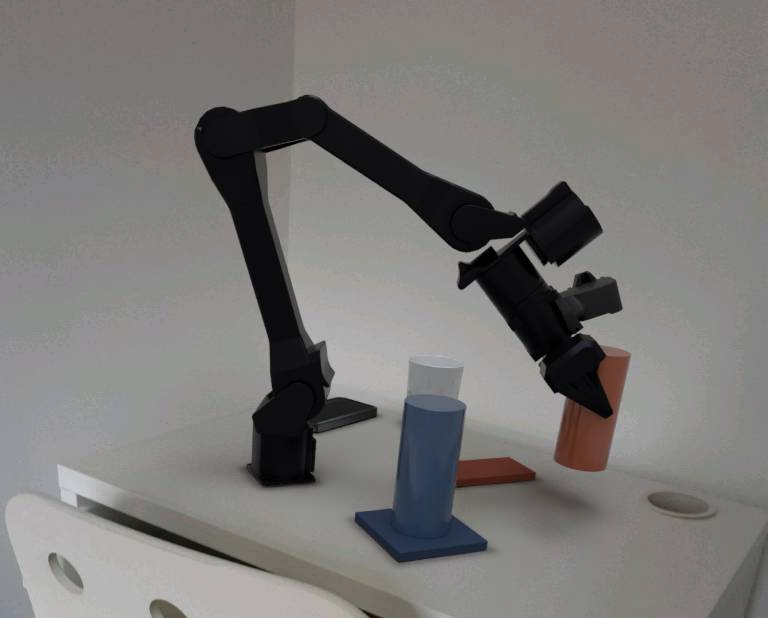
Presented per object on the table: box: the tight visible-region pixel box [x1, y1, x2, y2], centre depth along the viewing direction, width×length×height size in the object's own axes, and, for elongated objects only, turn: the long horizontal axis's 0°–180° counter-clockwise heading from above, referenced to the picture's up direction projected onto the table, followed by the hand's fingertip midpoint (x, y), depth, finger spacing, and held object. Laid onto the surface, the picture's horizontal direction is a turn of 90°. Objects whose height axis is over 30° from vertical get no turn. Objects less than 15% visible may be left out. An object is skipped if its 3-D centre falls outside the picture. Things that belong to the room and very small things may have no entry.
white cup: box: [406, 354, 465, 400], centre depth 117 cm, size 8×8×10 cm
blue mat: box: [354, 507, 489, 563], centre depth 83 cm, size 10×10×1 cm
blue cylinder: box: [391, 394, 468, 538], centre depth 80 cm, size 6×6×13 cm
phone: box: [306, 396, 379, 433], centre depth 118 cm, size 8×1×15 cm
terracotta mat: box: [455, 456, 537, 488], centre depth 102 cm, size 12×6×1 cm, turn 117°
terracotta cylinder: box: [553, 344, 632, 473], centre depth 90 cm, size 6×6×13 cm
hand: (603, 408), depth 90 cm, fingers closed on terracotta cylinder, 6 cm apart
